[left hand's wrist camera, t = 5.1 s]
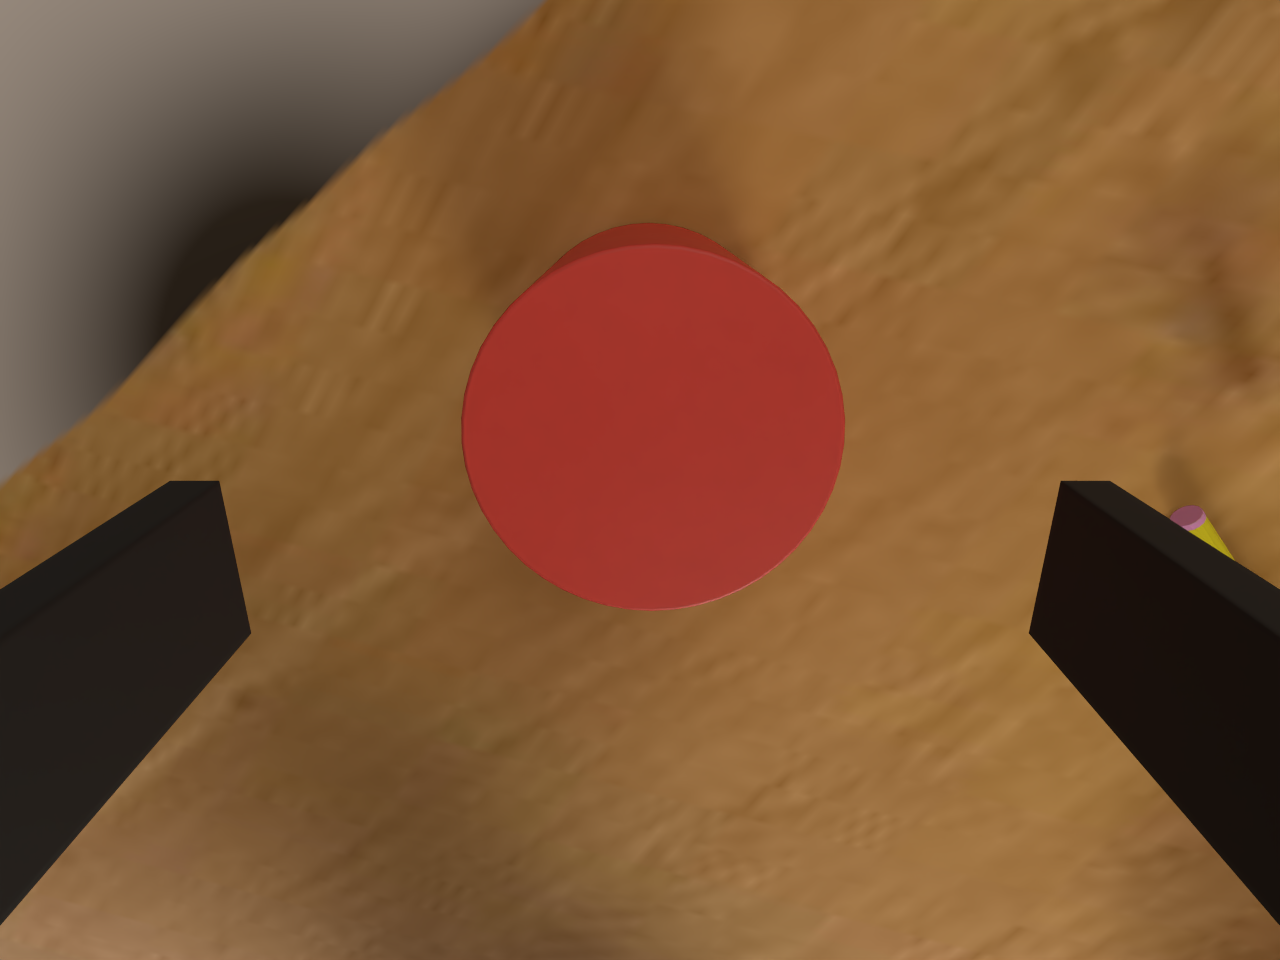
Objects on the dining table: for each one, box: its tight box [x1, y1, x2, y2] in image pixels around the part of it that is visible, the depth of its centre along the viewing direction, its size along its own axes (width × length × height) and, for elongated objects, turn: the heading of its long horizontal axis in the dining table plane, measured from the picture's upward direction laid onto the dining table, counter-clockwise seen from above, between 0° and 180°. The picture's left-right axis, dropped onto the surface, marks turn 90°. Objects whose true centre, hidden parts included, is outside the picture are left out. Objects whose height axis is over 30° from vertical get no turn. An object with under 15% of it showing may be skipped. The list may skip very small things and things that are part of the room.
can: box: [461, 223, 845, 611], centre depth 21 cm, size 8×8×9 cm
